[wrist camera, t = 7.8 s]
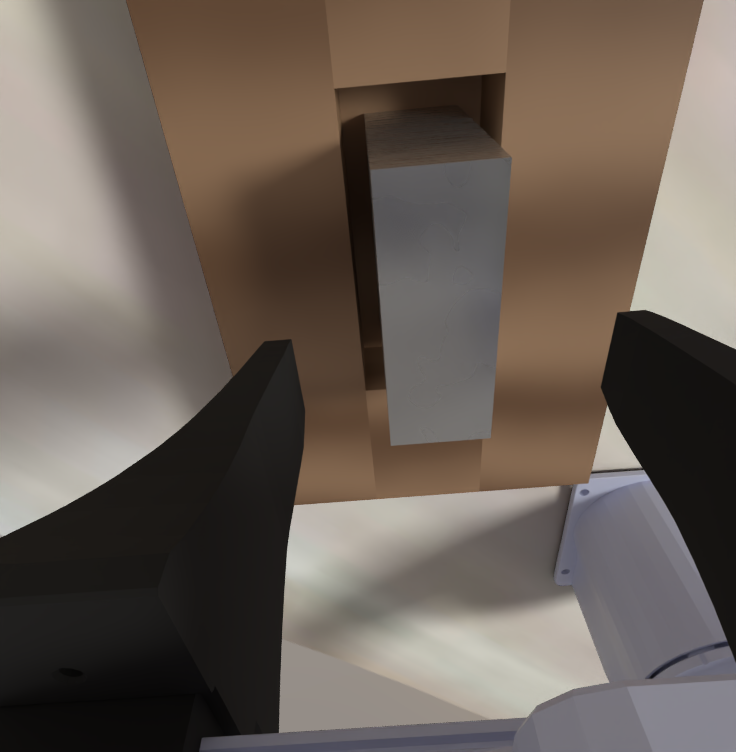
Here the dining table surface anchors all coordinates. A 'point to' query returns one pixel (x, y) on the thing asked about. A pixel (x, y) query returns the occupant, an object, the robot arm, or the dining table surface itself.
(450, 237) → the tall grey cuboid
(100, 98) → the dining table surface
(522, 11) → the well
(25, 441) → the dining table surface
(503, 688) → the dining table surface
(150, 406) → the dining table surface
